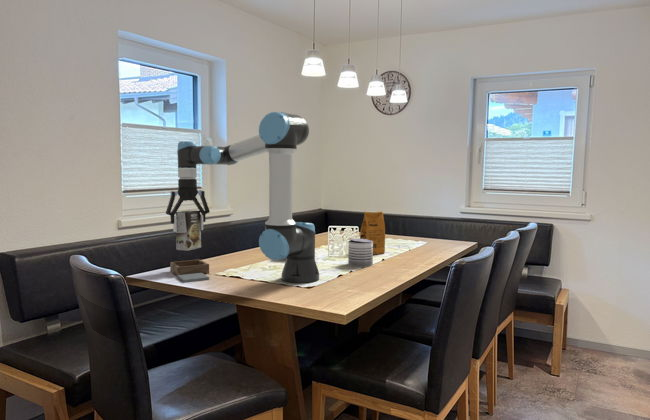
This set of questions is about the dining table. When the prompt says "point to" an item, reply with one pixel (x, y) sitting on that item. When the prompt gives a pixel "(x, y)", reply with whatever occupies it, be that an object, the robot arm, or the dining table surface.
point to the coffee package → (374, 231)
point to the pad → (193, 277)
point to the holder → (189, 267)
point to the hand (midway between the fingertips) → (188, 230)
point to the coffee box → (188, 230)
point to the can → (360, 252)
